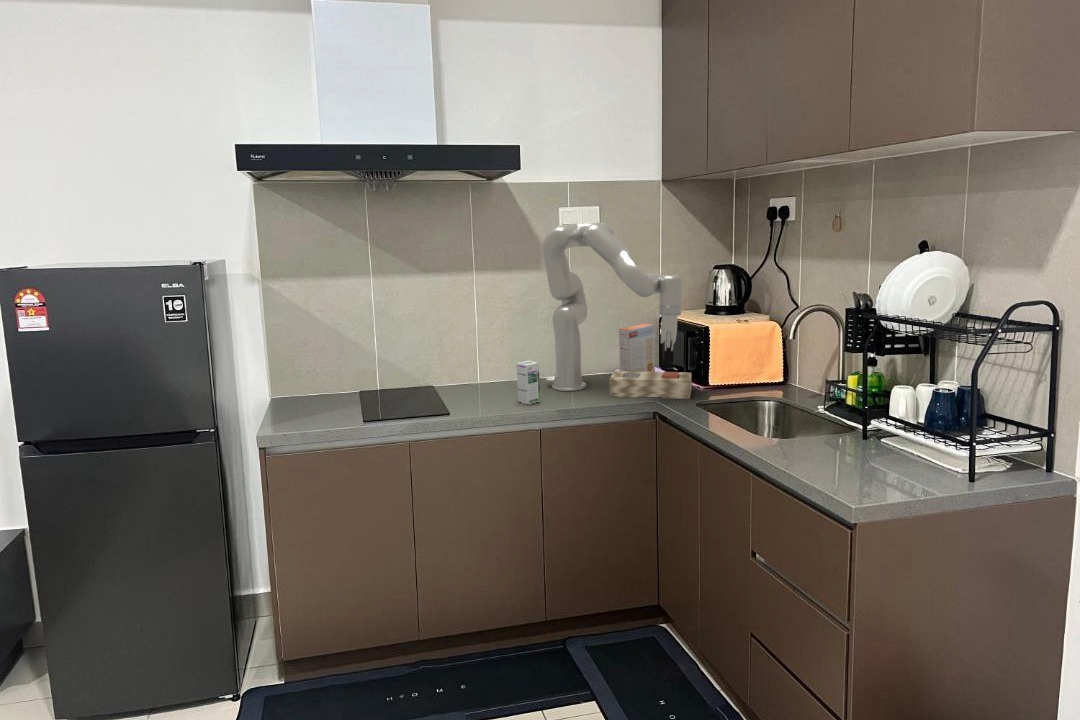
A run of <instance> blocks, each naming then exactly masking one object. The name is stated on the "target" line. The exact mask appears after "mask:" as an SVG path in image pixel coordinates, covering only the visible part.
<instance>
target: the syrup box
mask: <svg viewBox="0 0 1080 720" xmlns="http://www.w3.org/2000/svg"><path fill="white" fill-rule="evenodd" d="M539 364H540V363H539V362H538V361H534V360H525V361H521V362H516V381H517V395H518V396H517V397H518V398H517V399H518V402H519V401H521V402H525V403H533V402H538V401H542V398H541V380H540V378H541V377H540V365H539Z"/></svg>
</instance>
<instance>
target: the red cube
mask: <svg viewBox="0 0 1080 720" xmlns="http://www.w3.org/2000/svg"><path fill="white" fill-rule="evenodd" d="M663 372H664V373H663V378H679V372H678V371H663Z"/></svg>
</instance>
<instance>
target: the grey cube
mask: <svg viewBox="0 0 1080 720" xmlns="http://www.w3.org/2000/svg"><path fill="white" fill-rule="evenodd" d="M623 377H634V378H639V374H624V376H623Z"/></svg>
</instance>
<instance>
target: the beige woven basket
mask: <svg viewBox="0 0 1080 720" xmlns="http://www.w3.org/2000/svg"><path fill="white" fill-rule="evenodd" d="M664 372H665V371H655V372H628V371H617V370H614V371H613V372H612V374H611V376H610V377H609V397H610V396H618V397H617V398H637V397H649V398H648V399H651V398H650V397H662V398H661V399H681V400H682V399H685V400H688V399H689V400H690V399H691V395H692V372H685V371H684V372H683V371H682V372H679V378H663V373H664ZM624 374H639V378H634V377H623V376H624Z"/></svg>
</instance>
